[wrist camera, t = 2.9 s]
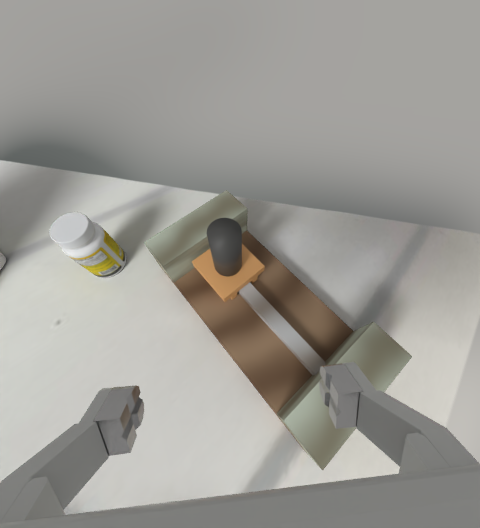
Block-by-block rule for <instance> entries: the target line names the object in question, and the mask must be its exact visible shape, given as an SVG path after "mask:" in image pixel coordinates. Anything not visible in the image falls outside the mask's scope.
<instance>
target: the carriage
mask: <svg viewBox="0 0 480 528" xmlns="http://www.w3.org/2000/svg"><path fill="white" fill-rule="evenodd" d="M207 238H208V242H209V246H210V249H209V250H207V251H206V252H204V253H203V254H202V255H200V256H199V257H197V258H196V259H194V260H193V261H192V263H193V266H194V267H195V268H196V269H197V270H198V272H199V273H200V274H201V275H202V276H203V277H204V279H205V280H206V281H207V282H208V283H209V284H210V286H211V287H212V288H213V289H214V290H215V291H216V293H217V294H218V295H219V296H220V297H221V298H222V300H223V301H224V302H226V301H227V300H228V299H230V298H231V299H232V300H233V299H234V298H235V297H237V292H238V291H240V290H241V289H242V288H243V287H244V286H246V285H247V284H248V283H249V282H251V283H252V284H253V283H254V282H255V281H256V280H257V278H258V275H259V274H261V273H262V272H263V271H264V268H265V266H264V265H263V264H262V263H261V262H260V261H259V260H258V259H257V258H256V257H255V256H254V255H253V254H252V253H251V252H250V251H249V250H248V249H247V248H246V247H245V246H244V245H243V244H242V229H241V226H240V225H239V223H238V222H236V221H235V220H233V219H231V218H219V219H216V220H214V221H213V222H212V223H211V224H210V225H209V226H208V228H207Z"/></svg>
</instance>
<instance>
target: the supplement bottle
mask: <svg viewBox="0 0 480 528" xmlns="http://www.w3.org/2000/svg"><path fill="white" fill-rule="evenodd" d="M49 234H50V237H51V239H52V240H53V241H55V242H56V243H57V244H58V245H59V246H61V249H62V250H63V252H64V253H65V254H66V255H67V256H69V257H70V258H72V259H73V260H74V261H76V262H77V263H79V264H80V265H81V266H83V267H84V268H86V269H87V270H88V271H90V272H91V273H93V274H94V275H96V276H98V277H101V278H108V277H112V276H114V275H116V274H118V273H119V272H120V271H121V270H122V269H123V268H124V266H125V263H126V254H125V252H124V251H123V250H122V249H121V247H120V246H119V245H118V244H117V243H116V242H115V241H114V240H113V239H112V238H111V237H110V236H109V234H108V233H107V232H106V231H105V230H104V229H103V228H102V227H101V226H100V225H98V224H97V223H94V222H92V221H91V220H90V219H89V218H88V217H87V216H86V215H84V214H82V213H79V212H70V213H67V214H64V215H62V216H60V217H59V218H57V219H56V220H55V221H54V222H53V223H52V225H51V227H50V230H49Z"/></svg>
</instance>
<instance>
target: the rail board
mask: <svg viewBox="0 0 480 528" xmlns="http://www.w3.org/2000/svg"><path fill="white" fill-rule="evenodd" d="M219 218H231V219H233V220H235V221H236V222H238V223H239V225H240V226H241V229H242V244H243V245H244V246H245V247H246V248H247V249H248V250H249V251H250V252H251V253H252V254H253V255H254V256H255V257H256V258H257V259H258V260H259V261H260V262H261V263H262V264H263V265H264V266H265V268H264V271H263V272H262V273H261V274H259V275H258V278H257V280H256V281H255V282H254V283H253V284H252V283H251V282H249V283H248V284H247V285H246V286H244V287H243V288H242V289H241V290H240V291H238V292H237V297H235V298H234V299H233V300H232V299H231V298H230V299H228V300H227V301H226V302H224V301H223V300H222V298H221V297H220V296H219V295H218V294H217V293H216V291H215V290H214V289H213V288H212V287H211V286H210V284H209V283H208V282H207V281H206V280H205V279H204V277H203V276H202V275H201V274H200V273H199V272H198V270H197V269H196V268H195V267H194V266H193V263H192V261H193V260H194V259H196V258H197V257H199V256H200V255H202V254H203V253H204V252H206V251H207V250H209V249H210V246H209V242H208V238H207V228H208V226H209V225H210V224H211V223H212V222H213V221H214V220H216V219H219ZM144 244H145V245H146V247H147V248H148V249H149V251H150V252H151V254H152V255H153V256H154V258H155V259H156V261H157V262H158V264H159V265H160V266H161V268H162V269H163V270H164V272H165V273H166V274H167V275H168V277H169V278H170V279H171V280H172V282H173V283H174V284H175V286H176V287H177V288H178V289H179V291H180V292H181V293H182V295H183V296H184V297H185V298H186V300H187V301H188V302H189V304H190V305H191V306H192V307H193V309H194V310H195V311H196V312H197V314H198V315H199V316H200V318H201V319H202V320H203V321H204V323H205V324H206V325H207V327H208V328H209V329H210V330H211V332H212V333H213V334H214V336H215V337H216V338H217V339H218V341H219V342H220V343H221V344H222V346H223V347H224V348H225V350H226V351H227V352H228V353H229V355H230V356H231V357H232V359H233V360H234V361H235V362H236V364H237V365H238V366H239V368H240V369H241V370H242V371H243V373H244V374H245V375H246V376H247V378H248V379H249V380H250V382H251V383H252V384H253V385H254V387H255V388H256V389H257V391H258V392H259V393H260V394H261V396H262V397H263V398H264V400H265V401H266V402H267V403H268V405H269V406H270V407H271V409H272V410H273V411H274V412H275V414H276V415H277V416H278V417H279V419H280V420H281V421H282V423H283V424H284V425H285V426H286V428H287V429H288V430H289V432H290V433H291V434H292V435H293V437H294V438H295V439H296V441H297V442H298V443H299V444H300V446H301V447H302V448H303V449H304V451H305V452H306V453H307V454H308V455H309V456H310V457H311V458H312V459H313V460H314V462H315V463H316V464H317V465H318V466H319V467H320V468H321V469H322V470H323V469H324V468H325V467H326V466H327V464H328V463H329V462H330V460H331V459H332V458H333V457H334V455H335V454H336V453H337V452H338V450H339V449H340V448H341V446H342V445H343V444H344V443H345V441H346V440H347V439H348V438H349V436H350V435H351V434H352V433H353V431H354V430H355V429H356V427H351V428H339V429H336V428H335V426H334V424H333V421H332V419H331V417H330V415H329V407H328V406H326V405H325V404H324V402H323V400H322V397H321V394H320V388H319V381H320V379H321V378H322V377H321V375H320V367H321V366H324V365H333V364H342V363H349V362H354V363H356V364H357V366H358V367H359V368H360V369H361V371H362V372H363V373H364V375H365V376H366V377H367V379H368V380H369V381H370V383H371V384H372V385H373V386H374V388H375V389H376V390H380V391H382V392H385V391H386V389H387V388H388V387H389V385H390V384H391V383H392V382H393V380H394V379H395V378H396V377H397V375H398V374H399V373H400V371H401V370H402V369H403V368H404V366H405V365H406V364H407V363H408V361H409V360H410V359H411V357H412V356H411V355H410V354H409V353H408V352H407V351H406V350H405V349H403V348H402V347H401V346H400V345H399V344H398V343H397V342H396V341H394V340H393V339H392V338H391V337H390V336H389V335H388V334H387V333H386V332H384V331H383V330H382V329H381V328H380V327H379V326H378V325H377V324H375V323H374V322H372V323H370V324H368V325H366V326H364V327H362V328H359V329H357V330H355V331H353V330H352V329H350V328H349V327H348V326H347V325H346V324H345V323H344V322H343V321H342V320H341V319H340V318H339V317H338V316H337V315H336V314H335V313H334V312H333V311H331V310H330V309H329V308H328V307H327V306H326V305H325V304H324V303H323V302H322V301H321V300H320V299H319V298H318V297H317V296H316V295H315V294H314V293H312V292H311V291H310V290H309V289H308V288H307V287H306V286H305V285H304V284H303V283H302V282H301V281H300V280H299V279H298V278H297V277H296V276H294V275H293V274H292V273H291V272H290V271H289V270H288V269H287V268H286V267H285V266H284V265H283V264H282V263H281V262H280V261H279V260H278V259H277V258H275V257H274V256H273V255H272V254H271V253H270V252H269V251H268V250H267V249H266V248H265V247H264V246H263V245H262V244H261V243H260V242H259V241H257V240H256V239H255V238H254V237H253V236H252V235H251V234H250V233H249V232H248V231H247V208H246V207H245V206H244V205H243V204H242V203H240V202H239V201H238V200H237V199H236V198H235V197H234V196H233V195H231V194H230V193H229V192H228V191H227V190H226V191H225V192H223V193H221V194H220V195H218V196H217V197H215V198H213V199H212V200H210V201H209V202H207V203H206V204H204V205H202V206H201V207H199V208H198V209H196V210H194V211H193V212H191V213H190V214H188V215H187V216H185V217H183V218H182V219H180V220H179V221H177V222H175V223H174V224H172V225H171V226H169V227H168V228H166V229H164V230H163V231H161V232H160V233H158V234H156V235H155V236H153V237H152V238H150V239H149V240H147V241H145V242H144Z"/></svg>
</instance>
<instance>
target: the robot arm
mask: <svg viewBox="0 0 480 528" xmlns="http://www.w3.org/2000/svg"><path fill="white" fill-rule="evenodd" d="M5 262H6V258H5V256H4V255H3V254H2V253H1V252H0V270H1V269H2V267H3V266H4V264H5ZM320 375H321V377H322V378H321V379H320V381H319V388H320V394H321V397H322V400H323V402H324V404H325V405H326V406H328V407H329V415H330V417H331V419H332V421H333V424H334V426H335V428H336V429H339V428H351V427H357V429H358V430H359V431H360V432H361V433H363V434H364V435H365V436H366V437H367V438H368V439H369V440H370V441H372V442H373V443H374V444H375V445H376V446H377V447H378V448H379V449H381V450H382V451H383V452H384V453H385V454H386V455H387V456H388V457H390V458H391V459H392V460H393V461H394V462H395V463H396V464H398V465H399V466H400V470H399V474H393V475H385V476H377V477H369V478H361V479H353V480H344V481H336V482H328V483H320V484H312V485H304V486H296V487H288V488H280V489H272V490H265V491H257V492H249V493H240V494H232V495H224V496H216V497H208V498H200V499H191V500H183V501H175V502H167V503H159V504H151V505H143V506H135V507H127V508H118V509H110V510H102V511H94V512H86V513H78V514H70V515H66V514H65V512H64V509H65V507H66V506H67V505H68V504H69V503H70V502H71V500H72V499H73V498H74V497H75V496H76V495H77V493H78V492H79V491H80V490H81V489H82V488H83V486H84V485H85V484H86V483H87V482H88V481H89V480H90V478H91V477H92V476H93V475H94V474H95V473H96V471H97V470H98V469H99V468H100V467H101V466H102V464H103V463H104V462H105V461H106V460H107V459H108V457H109V456H110V455H117V454H124V453H131V450H132V447H133V444H134V442H135V439H136V436H137V435H136V431H135V430H136V429H137V428H138V427H139V426H140V425H141V422H142V419H143V414H144V404H143V400H142V399H140V398H139V395H140V389H139V386H125V387H114V388H104V389H101V390H100V391H99V392H98V394H97V395H96V397H95V398H94V400H93V402H92V403H91V405H90V406H89V408H88V409H87V411H86V413H85V414H84V416H83V417H82V419H81V421H80V422H79V424H74V425H73V426H72V427H70V428H69V429H68V430H67V431H65V432H64V433H63V434H61V435H60V436H59V437H58V438H56V439H55V440H54V441H52V442H51V443H50V444H49V445H47V446H46V447H45V448H43V449H42V450H41V451H40V452H38V453H37V454H36V455H34V456H33V457H32V458H31V459H29V460H28V461H27V462H25V463H24V464H23V465H22V466H20V467H19V468H18V469H16V470H15V471H14V472H13V473H11V474H10V475H9V476H7V477H6V478H5V479H4V480H2V482H1V483H0V528H480V464H479V463H478V462H477V460H476V459H475V458H473V456H472V455H471V454H470V453H469V452H468V451H467V450H466V449H465V447H464V446H463V445H462V444H461V443H460V442H459V441H458V440H457V439H456V438H455V437H454V436H453V435H452V434H451V432H450V431H449V430H448V429H447V428H445V427H443V426H442V425H440V424H438V423H436V422H435V421H433V420H431V419H429V418H428V417H426V416H424V415H422V414H421V413H419V412H417V411H415V410H414V409H412V408H410V407H408V406H407V405H405V404H403V403H401V402H400V401H398V400H396V399H394V398H393V397H391V396H389V395H387V394H386V393H384V392H382V391H380V390H376V389H375V388H374V386H373V385H372V384H371V383H370V381H369V380H368V379H367V377H366V376H365V375H364V373H363V372H362V371H361V369H360V368H359V367H358V366H357V364H356V363H354V362H349V363H342V364H333V365H324V366H321V367H320Z"/></svg>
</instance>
